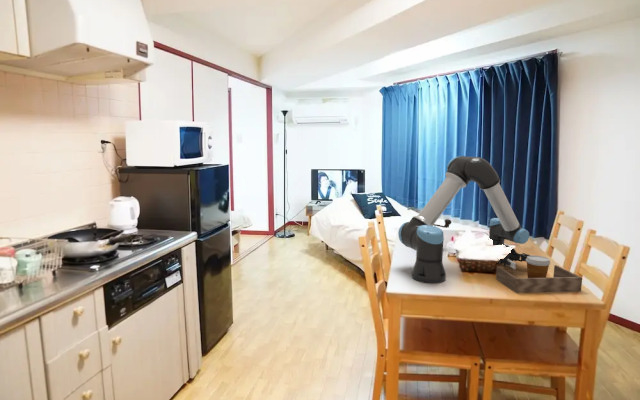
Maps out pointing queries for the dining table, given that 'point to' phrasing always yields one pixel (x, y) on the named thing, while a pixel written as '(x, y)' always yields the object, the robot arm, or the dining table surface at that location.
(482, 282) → the dining table surface
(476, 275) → the dining table surface
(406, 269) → the dining table surface
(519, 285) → the walnut crate
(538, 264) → the disposable coffee cup
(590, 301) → the dining table surface
